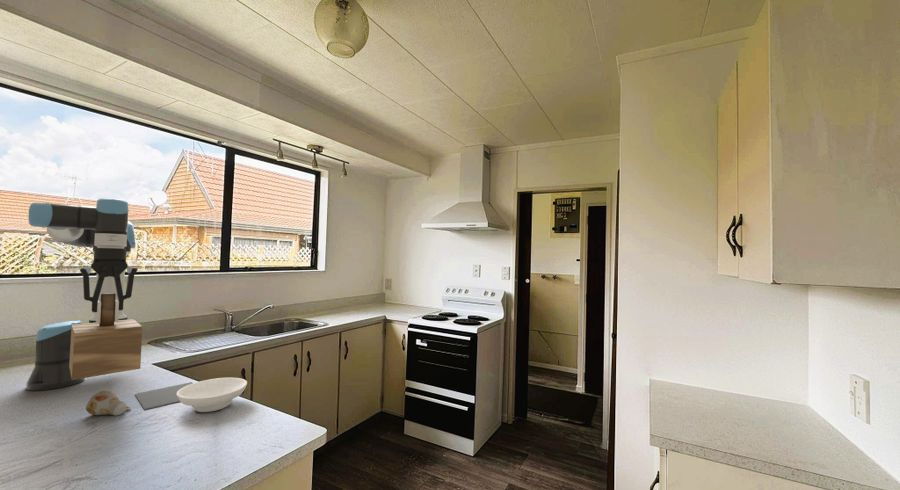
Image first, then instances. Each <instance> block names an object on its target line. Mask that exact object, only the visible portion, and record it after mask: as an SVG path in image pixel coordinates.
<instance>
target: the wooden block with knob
mask: <svg viewBox="0 0 900 490" xmlns="http://www.w3.org/2000/svg"><path fill="white" fill-rule="evenodd" d="M115 299H116V293H104V294H101V315H100V323H96V322H95V323H89V322H86V323H82V324H73V325H72V326H71V344H70V363H69V368H70V373H71V378H72V380H76V379H82V378H84V379H88V378H93V377H99V376H106V375H111V374H117V373H122V372H123V373H124V372H129V371H135V370H140V369H141V363H142V343H143V340H142V338H143V325H141V324H140V323H139V322H137V320H135V319H134V318H132V319H127V320H118V321H117V322H115V321H114V318H115Z"/></svg>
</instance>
